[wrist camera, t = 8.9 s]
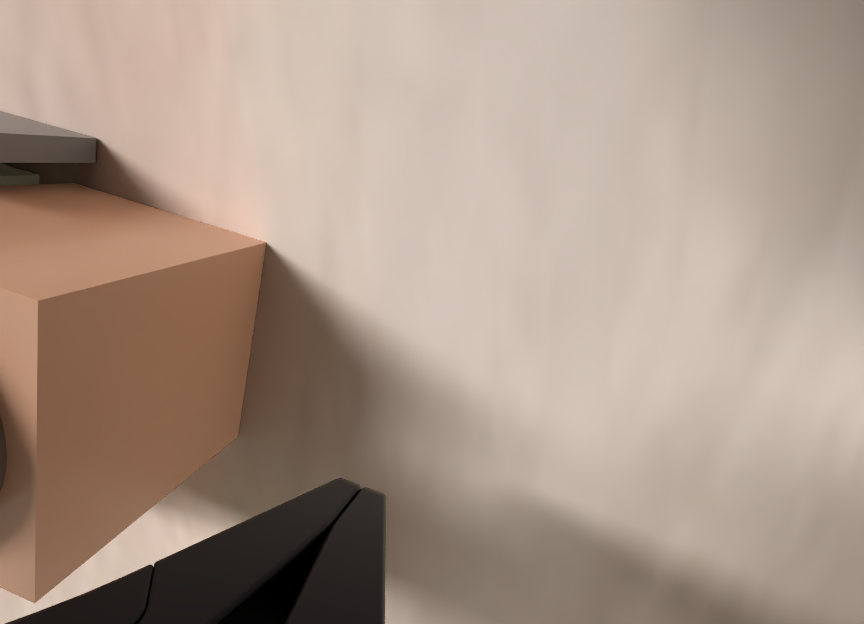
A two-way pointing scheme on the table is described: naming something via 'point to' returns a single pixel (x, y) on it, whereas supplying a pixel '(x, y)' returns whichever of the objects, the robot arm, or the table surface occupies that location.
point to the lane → (42, 143)
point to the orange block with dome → (110, 367)
